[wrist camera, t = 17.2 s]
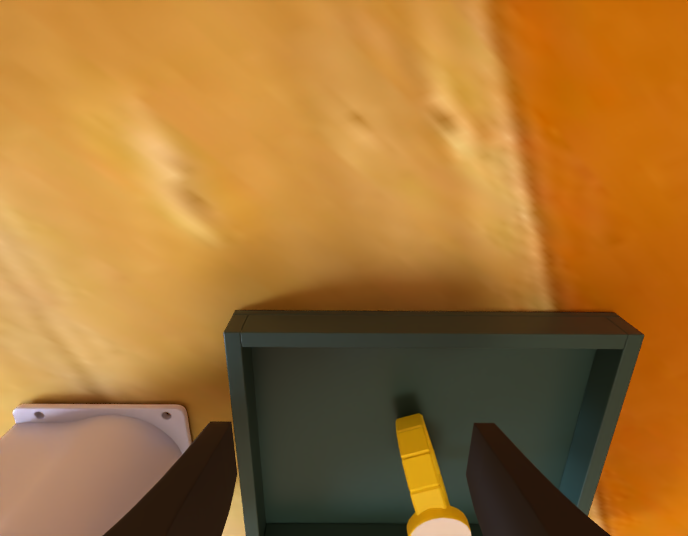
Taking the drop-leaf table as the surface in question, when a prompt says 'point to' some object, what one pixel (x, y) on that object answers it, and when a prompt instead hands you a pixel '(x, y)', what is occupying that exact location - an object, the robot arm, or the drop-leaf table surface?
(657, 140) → the drop-leaf table surface
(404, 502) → the tray
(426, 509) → the watch
